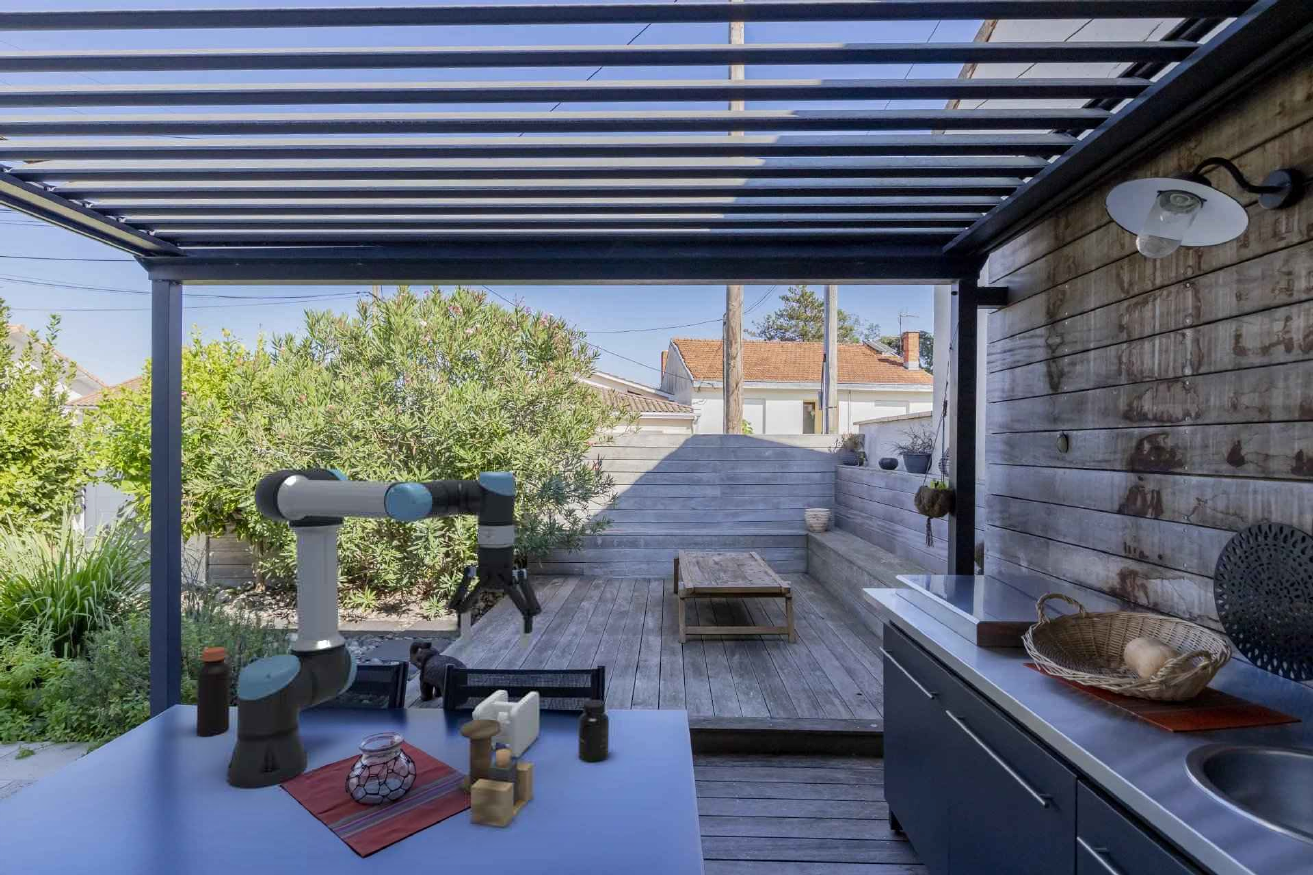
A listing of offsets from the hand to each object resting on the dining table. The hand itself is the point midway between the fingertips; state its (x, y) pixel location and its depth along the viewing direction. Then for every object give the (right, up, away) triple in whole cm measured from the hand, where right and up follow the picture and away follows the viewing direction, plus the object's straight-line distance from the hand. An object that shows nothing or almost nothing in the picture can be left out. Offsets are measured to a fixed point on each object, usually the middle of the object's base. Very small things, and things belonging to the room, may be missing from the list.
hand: (494, 646), depth 151 cm
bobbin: (-2, -28, -3) cm, 28 cm away
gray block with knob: (+4, -27, -13) cm, 30 cm away
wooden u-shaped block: (+5, -28, -13) cm, 31 cm away
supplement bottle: (+20, -28, +11) cm, 36 cm away
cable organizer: (-1, -29, +15) cm, 32 cm away
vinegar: (-75, -28, +25) cm, 84 cm away
